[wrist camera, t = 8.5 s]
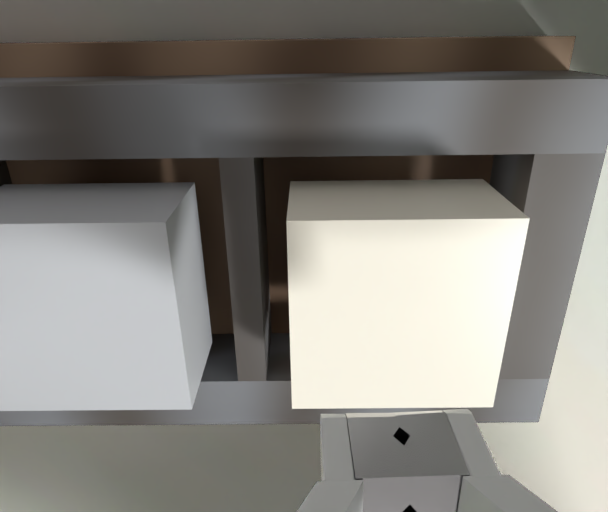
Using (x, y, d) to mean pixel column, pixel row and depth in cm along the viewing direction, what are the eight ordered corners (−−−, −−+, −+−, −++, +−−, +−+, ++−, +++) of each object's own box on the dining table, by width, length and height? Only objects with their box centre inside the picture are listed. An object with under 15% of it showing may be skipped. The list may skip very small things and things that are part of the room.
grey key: (194, 182, 15) (165, 222, 12) (212, 341, 18) (191, 409, 15) (4, 184, 15) (-75, 224, 12) (49, 343, 18) (-7, 411, 15)
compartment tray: (547, 35, 17) (634, 37, 13) (488, 360, 23) (533, 442, 18) (-298, 47, 17) (-512, 53, 13) (-142, 366, 23) (-250, 447, 19)
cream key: (482, 178, 15) (529, 218, 12) (459, 339, 18) (493, 407, 14) (290, 181, 15) (286, 220, 12) (294, 341, 18) (291, 409, 15)
